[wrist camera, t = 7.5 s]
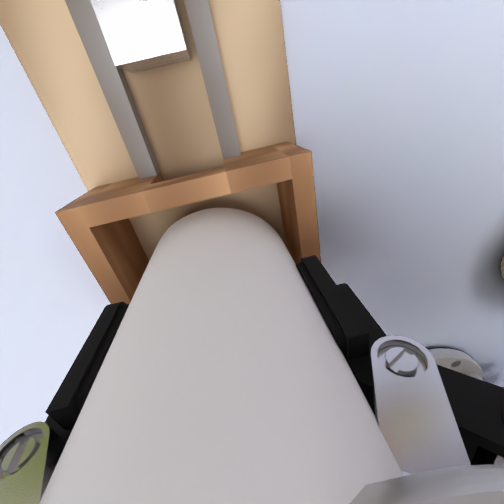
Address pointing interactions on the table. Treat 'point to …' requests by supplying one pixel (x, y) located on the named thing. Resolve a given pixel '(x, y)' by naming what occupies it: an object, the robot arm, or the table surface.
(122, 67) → the lock bolt
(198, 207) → the mount
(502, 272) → the flower pot
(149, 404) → the can
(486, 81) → the table surface
